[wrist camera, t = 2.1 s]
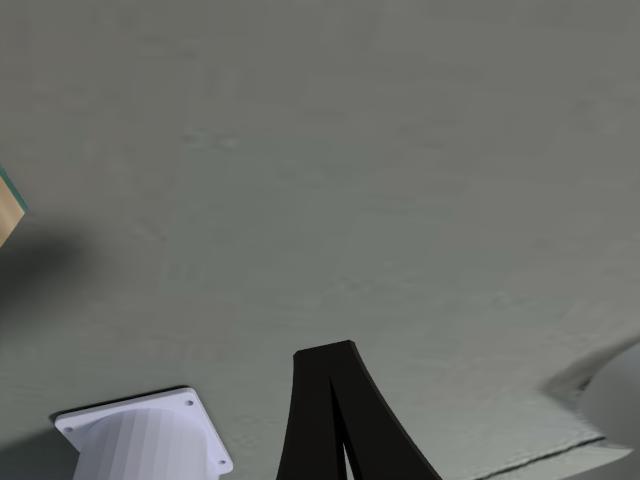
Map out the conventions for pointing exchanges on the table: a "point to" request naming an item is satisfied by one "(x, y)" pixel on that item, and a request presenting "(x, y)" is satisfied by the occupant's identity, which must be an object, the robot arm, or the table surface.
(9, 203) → the beech block
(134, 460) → the robot arm
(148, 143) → the table surface
